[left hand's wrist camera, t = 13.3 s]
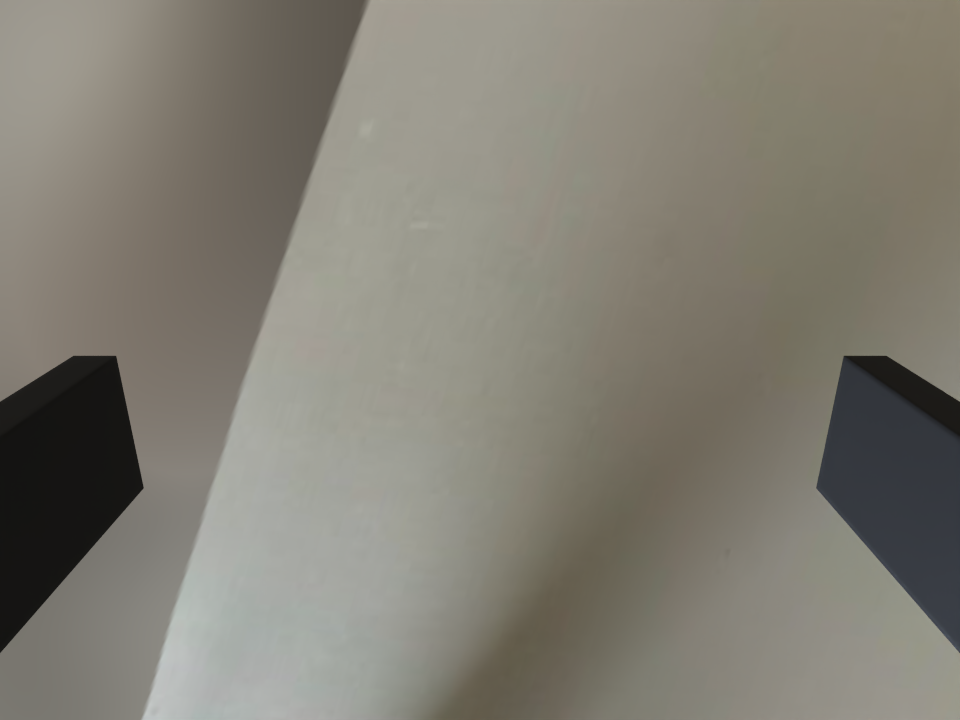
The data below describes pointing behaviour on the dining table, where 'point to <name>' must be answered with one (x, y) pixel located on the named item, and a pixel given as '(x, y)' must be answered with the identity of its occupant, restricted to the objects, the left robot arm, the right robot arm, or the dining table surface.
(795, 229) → the dining table surface
